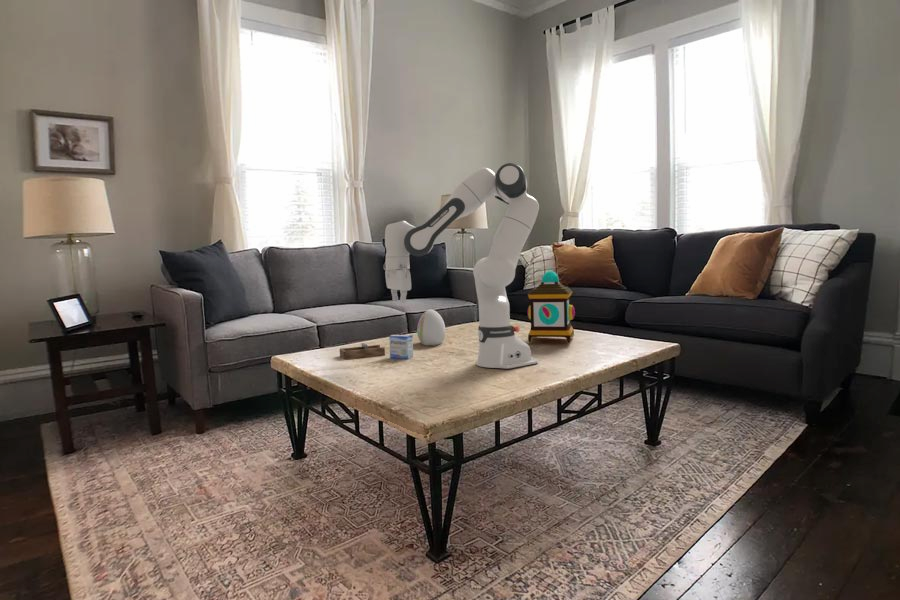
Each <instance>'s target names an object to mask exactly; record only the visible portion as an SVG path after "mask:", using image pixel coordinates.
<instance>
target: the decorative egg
mask: <svg viewBox="0 0 900 600" xmlns="http://www.w3.org/2000/svg"><path fill="white" fill-rule="evenodd" d="M417 323H418V324H417V330H416V332H417V338H418V340H419V342H420V343H421V345H423V346H428V345H433V346H439V345H441V344H442V343H443V342H444V340H445V337H446V335H447V334H446V332H447V331H446V325H445V322H444V319H443V317H442V316H441V314H440V313H438V312H437V310H435V309H427V310H426V311H425V312H424V313H422V315H421V316H420V318H419V320H418V322H417Z"/></svg>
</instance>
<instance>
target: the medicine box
mask: <svg viewBox="0 0 900 600" xmlns="http://www.w3.org/2000/svg"><path fill="white" fill-rule="evenodd" d="M388 339H389V358H390V359H393V360H395V359H396V360H410V359H412V358H414V345H413V344H414V340H413V339H414V338H413V335H412V334H391V335H389V338H388Z"/></svg>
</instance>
